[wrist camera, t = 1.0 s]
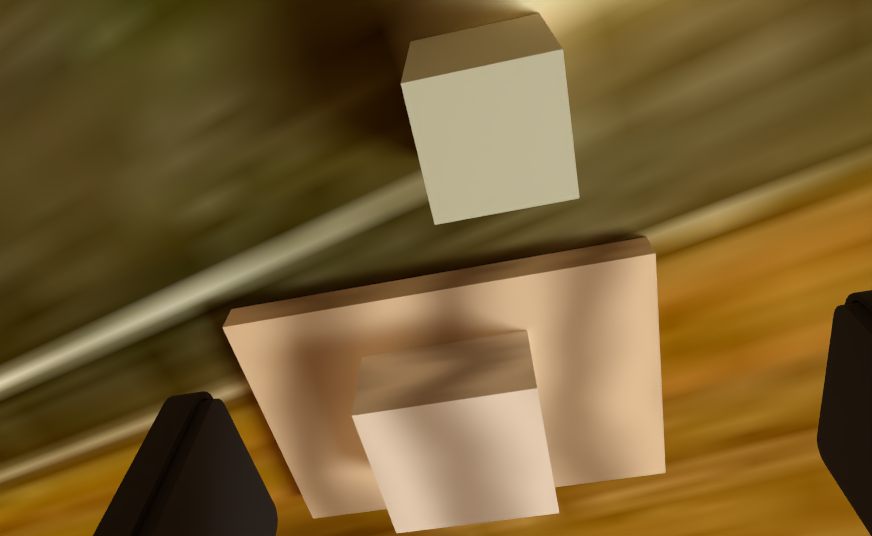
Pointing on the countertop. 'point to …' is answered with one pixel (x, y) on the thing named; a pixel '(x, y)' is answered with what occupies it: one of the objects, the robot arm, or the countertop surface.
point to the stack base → (453, 306)
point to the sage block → (491, 119)
